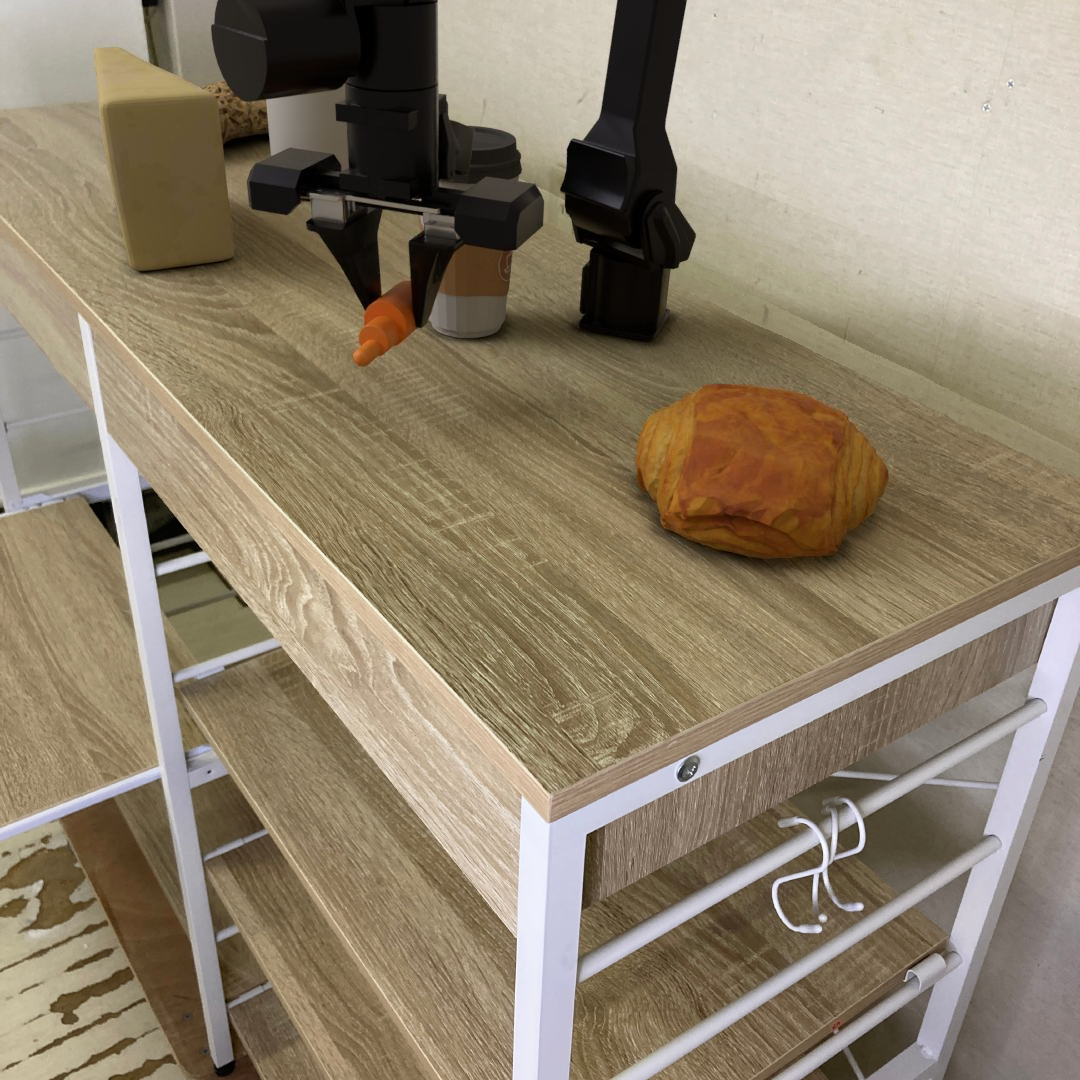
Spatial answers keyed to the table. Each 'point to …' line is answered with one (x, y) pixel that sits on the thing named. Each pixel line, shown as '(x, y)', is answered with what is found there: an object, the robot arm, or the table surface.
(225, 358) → the table surface
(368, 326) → the carrot
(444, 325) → the coffee cup
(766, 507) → the croissant
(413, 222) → the table surface
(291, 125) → the cylinder vase
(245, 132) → the sponge
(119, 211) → the cheese
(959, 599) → the table surface
